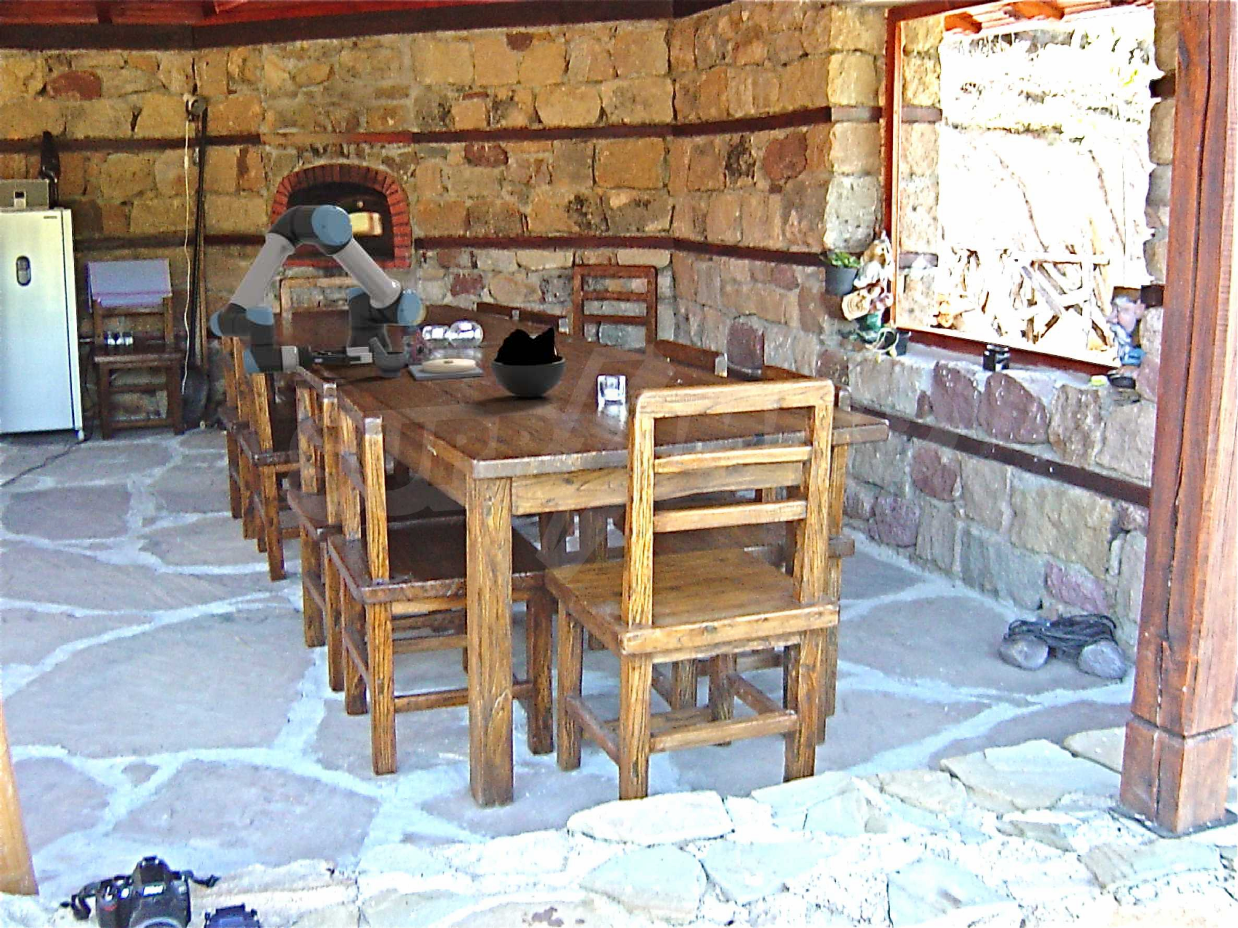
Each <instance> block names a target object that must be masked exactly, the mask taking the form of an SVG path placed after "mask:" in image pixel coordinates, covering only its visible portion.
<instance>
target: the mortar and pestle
mask: <svg viewBox="0 0 1238 928" xmlns="http://www.w3.org/2000/svg"><path fill="white" fill-rule="evenodd" d="M369 344H371V345H372V347H373V349H374V351H375V352H376V353H374V357H373V358H374V362H375V363H374V364H375V365H376V367H377V368H378V369H379V371H381V373H380V377H381V378H396V377H401V376H402V369H404V367H405V364H407V363H406V352H404V350H403V351H402V350H392V351H385V350H384V349H383V347H382V346H381V345H380V343H379V342H378V339H377V338H376V337H374V338H372V339H371V340H370V341H369Z"/></svg>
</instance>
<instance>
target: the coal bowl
mask: <svg viewBox="0 0 1238 928" xmlns="http://www.w3.org/2000/svg"><path fill="white" fill-rule="evenodd" d="M509 333H510V334H508V336H507V337H505V338H504V339H503V342H502V345H501V346H500V347H499V348H498V349H497V354H496V358H494V359H493V360H491V362H490V363H491V369H492V372H493V375H494V377H495V379H496V381H497V382H498V383H499V385H500V386H501V387H502V388H503V389H505V390H506V391H507V392H508V393H510V394H513V395H515V396H517V397H520V398H521V397H522V398H536V396H537V397H540V396H543V395H544V394H546V393H547V394H548V393H549V392H551V390H553V389H554V388H555V387H556V386H557V385H558V383H559V382H560V380H561V378H562V377H563V375H564V372H565V368H566V358H564V357H563V356H560V355H557V354H556V349H555V348H556V347H555V337H556V336H555V335H556V334H555V328H554V327H553V326H550V327H548V328H547V330H545V331H542V332H541V333H538V334H537V335H535V336H534V338H533V337H532V336H531V335H530V334H529V333H528V332H526V330H524V329H521V328H516V329H515V330H514V331H512V332H509Z"/></svg>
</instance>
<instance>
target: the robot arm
mask: <svg viewBox="0 0 1238 928" xmlns="http://www.w3.org/2000/svg"><path fill="white" fill-rule="evenodd" d="M351 222H352V219H351V217H350V216H349V214H348V213H347V212H346V211H345V210H344V209H343V208H341V207H340V206H336V205H331V204H323V205H297V206H293V207H291V208H289V209H288V210H286V211H285V212H283V213H282V215H280V216H279V217H278V218H277V220H275V222H274V223H273V224H272V225H271V226H270V229H269V230H268V231H267V233H266V235H265V237H264V238H265V243H264V245H263V246H262V248H261V250H260V251H259V253H258V254H257V256H256V257H255V259H254V261H253V263H252V264H251V266H250V267H249V269H248V270H247V272H246V274H245V276H244V277H243V279H242V281H241V282H240V284H239V286H238V288H236V290H235V292H234V294H233V295H232V297H231V298H230V300H229V302H228V304H227V306H226V307H224V310H219V311H216V312H215V313H213V314H212V315H211V317H210V322H209V323H210V329H211V331H212V332H213V334H215V335H216V336H217V337H224V338H239V339H248V344H249V346H248V347H247V348H244V349H243V350H242V356H243V367H244V372H245V373H247V374H259V375H260V374H261V375H262V374H275V373H287V374H289V375H290V374H291V372H297V371H296V367H297V366H301V367H303V368H304V369H306V370H309V371H312V370H313V364H315V365H316V366H318V365H319V366H322V365H323V366H324V365H329V366H330V365H338V366H339V365H340V366H343V365H344V366H346V367H350V366H351V364H367V363H373V358H374V353H376V352H375V351H374V349H373V347H372V345H371V344H369V341H370V340H371V339H372V338H374V337H376V338H377V339H378V342H379V343H380V345H381V346H382V347H383V349H384V350H385V351H393V349H392V345H391V342H390V339H389V337H388V334H387V332H386V325H393V326H401V327H403V326H411V325H413V324H415V322H416V321H417V320H418V318H419V316H420V313H421V307H422V306H421V304H422V303H421V298H420V295H419V294H418V292H417V291H415V290H412V289H406V288H405V287H404V286H403V285H402V284H401V283H400V282H399V281H398V280H397V279H394V278H390V277H389V276H388V275H387V274H386V273H385V272H384V270H382V268H381V267H380V266H379V265H378V264H377V263H376V262H375V261H374V260H373V258H372V257H371V256H370V255H369V254H368V253H367V252H366V250H364V249H363V247H362V246H361V245H360V243H358V242H357V241H356V240H355V239H354V232H353V224H351ZM302 245H314V246H316V248H318V250H319V251H320V252H321V253H322V254H323V255H325V256H328V257H333V259H334V260H335V261H336V262H337V263H338V264H339V266H341V267H342V268H343V270H345V271H346V272H347V273H348V274H349V275H350V277H351V278H352V279H353V281H355V282H356V283H357V284H358V286H356V287H355V286H354V287H351V288H349V289H348V291H347V307H348V318H349V319H348V321H349V336H348V339H347V342H346V343H347V344H346V345H342V347H336V348H328V349H317V350H316V349H315V350H313V351H312V350H311V346H310V345H309V344H308V345H298V346H297V347H296V346H295V345H285V346H283V345H282V346H276V345H277V344H276V332H275V331H276V330H275V319H274V312H273V309H272V308H271V307H270V306H261V305H260V306H259V304H260V302H261V301H262V299H263V298H264V296H265V294H266V293H267V291H268V289H269V287H270V286H271V285H272V282H273V281H274V279H275V278H276V276H277V274H278V272H279V271H280V269H281V268H282V266H283V264H284V263H285V261H286V260H287V258H288V256H289V255H293V254H294V253H295V251H296V249H298V247H300V246H302ZM309 371H308V372H309Z"/></svg>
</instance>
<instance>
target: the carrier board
mask: <svg viewBox="0 0 1238 928" xmlns="http://www.w3.org/2000/svg"><path fill="white" fill-rule="evenodd" d="M408 371H409V372H410V374H411V375H412V376H413V378H414V379H415V380H416V381H429V380H445V379H448V380H449V379H460V378H461V377H465V378H474V377H473V376H481V377H485V372H484V371H483V370H482V369H480V367H479V366H477V365H476V360H474V359H467V358H466V359H464V358H447V359H446V358H444V359H435V360H432V361H427V362H424V363H422V365H415V366H409V365H408Z"/></svg>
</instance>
